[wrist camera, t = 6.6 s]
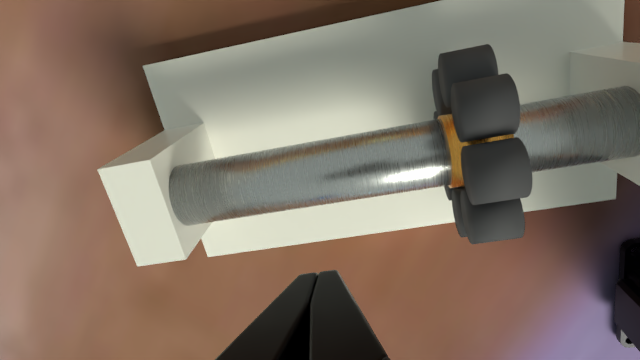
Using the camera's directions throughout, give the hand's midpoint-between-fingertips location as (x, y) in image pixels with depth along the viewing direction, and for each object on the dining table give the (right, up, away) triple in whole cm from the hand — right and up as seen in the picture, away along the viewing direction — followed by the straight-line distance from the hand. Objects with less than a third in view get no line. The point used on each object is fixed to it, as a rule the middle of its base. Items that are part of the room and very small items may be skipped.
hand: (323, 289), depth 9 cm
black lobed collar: (+6, +5, +9) cm, 11 cm away
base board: (+3, +5, +11) cm, 12 cm away
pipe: (+3, +4, +7) cm, 8 cm away
